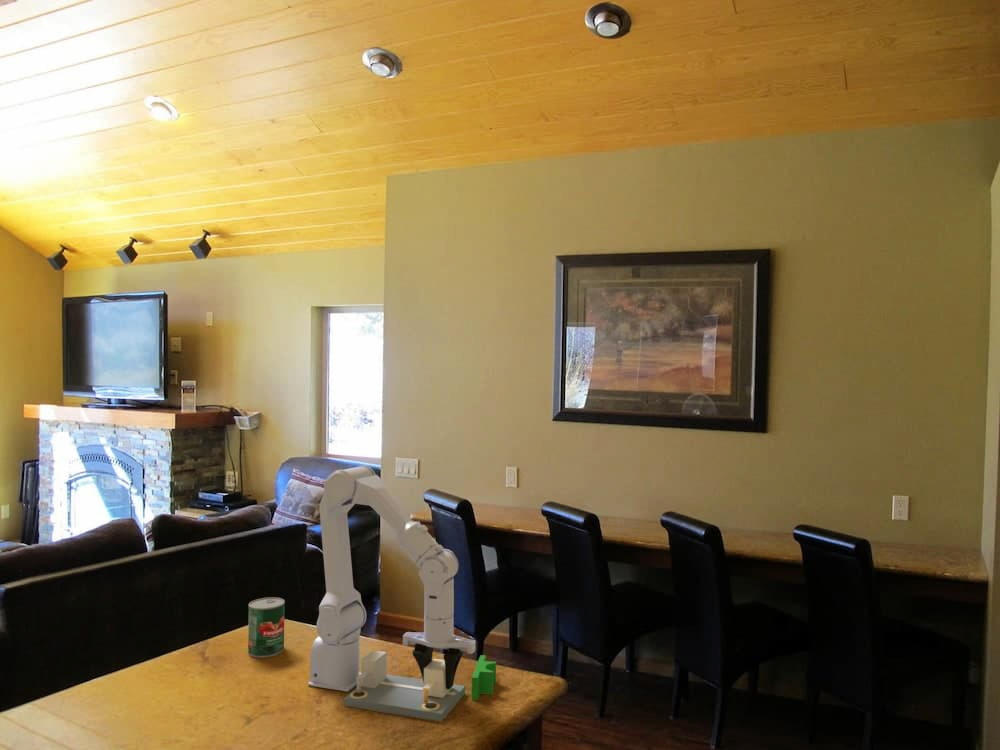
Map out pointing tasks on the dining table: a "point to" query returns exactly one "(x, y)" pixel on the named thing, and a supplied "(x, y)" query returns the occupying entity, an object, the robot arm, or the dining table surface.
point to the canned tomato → (266, 627)
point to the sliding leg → (435, 680)
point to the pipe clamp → (483, 677)
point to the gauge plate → (397, 692)
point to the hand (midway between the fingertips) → (438, 685)
